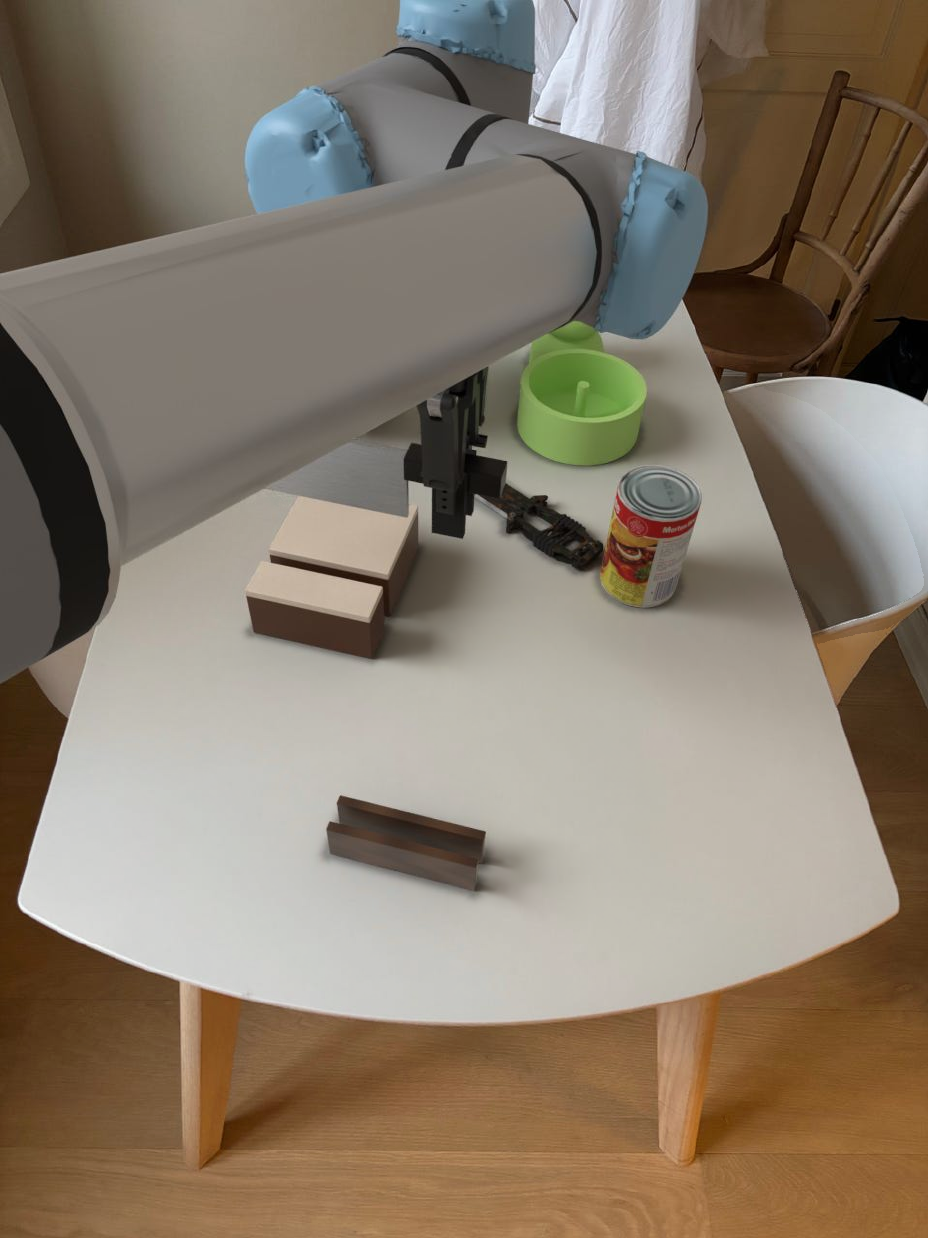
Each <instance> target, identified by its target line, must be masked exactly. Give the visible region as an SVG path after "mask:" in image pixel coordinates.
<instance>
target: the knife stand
mask: <svg viewBox="0 0 928 1238" xmlns="http://www.w3.org/2000/svg"><path fill="white" fill-rule="evenodd" d="M336 809H337V814H338V816H337V817H338V822H336V821H335V822H334V821H328V824H327V826H326V829H325V830H326V838H327V844H328V850H329V855H330V854H331V855H334V856H337V857H342V858H345V859H350V860H354V861H357V862H361V863H365V864H369V865H372V866H377V867H379V868H380V867H381V868H384V869H388V870H392V871H396V872H400V873H403V874H407V875H411V876H415V877H419V878H423V879H427V880H431V881H434V882H438V883H442V884H445V885H449V886H454V887H458V888H461V889H465V890H468V891H469V890H470V891H473V892H474V891H475V890H476V886H477V882H478V881H477V880H478V871H479V864H480V865H481V864H482V863H483V860H484V857H485V849H486V848H485V846H486V837H487V831H485V830H481V829H477V828H474V827H470V826H466V825H461V824H457V823H453V822H449V821H445V820H442V819H437V818H434V817H430V816H424V815H422V814H417V813H414V812H410V811H405V810H401V809H397V808H393V807H390V806H385V805H381V804H378V803H373V802H369V801H365V800H361V799H357V798H353V797H349V796H345V795H339V796H338V798H337V802H336Z"/></svg>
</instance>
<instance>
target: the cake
mask: <svg viewBox="0 0 928 1238" xmlns="http://www.w3.org/2000/svg"><path fill="white" fill-rule="evenodd" d="M418 550H419V506H418V505H416V504H410V503H409V515H408V517H407V518H405V517H400V516H395V515H391V514H386V513H381V512H376V511H371V510H366V509H361V508H356V507H352V506H347V505H342V504H337V503H332V502H327V501H322V500H317V499H313V498H308V497H303V496H298V497H297V498H296V500H295V502H294V504H293V506H292V508H291V509H290V511H289V512H288V514H287V516H286V518H285V520H284V521H283V523H282V525H281V527H280V528H279V530H278V531H277V534H276V535H275V537H274V539H273V540H272V542H271V544H270V545H269V547H268V554H269V560H270V561H269V562H270V563H274V564H279V565H284V566H288V567H293V568H297V569H302V570H307V571H311V572H316V573H321V574H325V575H330V576H335V577H339V578H344V579H349V580H353V581H358V582H363V583H367V584H372V585H377V586H381V587H383V602H384V617H391V615H392V612H393V611H394V608H395V606H396V603H397V601H398V598H399V596H400V594H401V591H402V589H403V587H404V584H405V582H406V579H407V577H408V574H409V572H410V569H411V567H412V564H413V563H414V560H415V558H416V555H417V553H418Z"/></svg>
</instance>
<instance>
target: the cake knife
mask: <svg viewBox="0 0 928 1238" xmlns="http://www.w3.org/2000/svg"><path fill="white" fill-rule="evenodd" d="M422 469H423V466H422V447H421V443H416V442H410V444H409V447H408V449H407V448H401V447H398V446H397V447H396V446H392V445H391V446H390V445H386V444H380V443H376V442H370V441H365V440H359V439H354V440H352V441H350V442H348V443H347V444H345V445H343V446H341V447H339V448H337V449H336V450H334V451H332V452H330V453H328V454H326V455H325V456H323V457H321V458H319V459H317V460H315V461H314V462H312V463H310V464H308V465H306V466H304V467H303V468H301V469H299V470H297V471H295V472H293V473H292V474H290V475H288V476H286V477H284V478H282V479H281V480H279V481H277V482H275V483H273V484H272V485H270V486H268V487H266V488H264V489H263V490H270V491H275V492H279V493H283V494H288V495H294V496H298V497H299V496H303V497H308V498H313V499H317V500H322V501H327V502H332V503H337V504H342V505H347V506H352V507H356V508H361V509H366V510H371V511H376V512H381V513H386V514H391V515H395V516H400V517H405V518H407V517H408V515H409V504H410V501H409V500H410V499H409V494H410V493H409V491H410V490H409V482H412V483H417V484H422V485H424V484H423V476H421V472H422ZM464 472H465V473H468V478H467V493H472V494H477V495H482V496H487V497H493V498H498V499H500V497H501V494H502V491H503V488H504V486H505V483H506V484H507V473H508V461H507V460H504V459H498V458H493V457H489V456H483V455H478V454H477V455H473V454H468V453H465V464H464Z"/></svg>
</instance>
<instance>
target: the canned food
mask: <svg viewBox="0 0 928 1238" xmlns="http://www.w3.org/2000/svg"><path fill="white" fill-rule="evenodd" d="M702 499H703V494H702V492H701V488H700V486H699V485H698V483H697V482H696V481H695V480H694V479H693V478H692V477H691V476H689V474H687V473H685V472H683V471H681V470H679V469H677V468H674V467H671V466H669V465H662V464H644V465H639V466H636V467H635V466H634V467H633V468H631V469H629V470H627V471H626V472H625V473H624V474H623V475H622V476H621V477H620V478H619V481H618V482H617V488H616V492H615V498H614V503H613V508H612V512H611V517H610V522H609V529H608V532H607V536H606V537H607V538H606V542H605V546H604V550H603V552H604V553H603V556H602V561H601V565H600V573H599V580H600V583H601V586H602V588H603V589H604V591H605V593H607V594H609V596H610V597H611V598H612V599H614V600H616V601H617V602H619V603H621V604H624V605H627V606H629V607H634V608H640V609H641V608H643V609H644V608H653V607H657V606H660V605H662V604H665V603H666V602H668V601H669V600H670V599H671V598H672V597H673V595H674V594H675V592H676V589H677V586H678V583H679V579H680V576H681V572H682V569H683V566H684V564H685V563H684V562H685V559H686V555H687V552H688V549H689V545H690V542H691V538H692V535H693V532H694V528H695V526H696V522H697V519H698V515H699V512H700V508H701V504H702V501H703V500H702Z"/></svg>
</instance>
